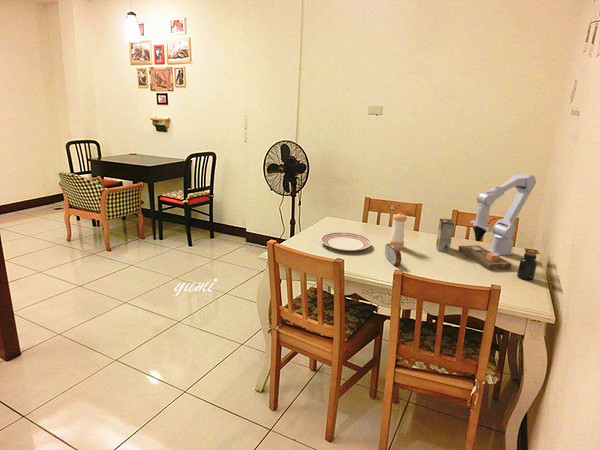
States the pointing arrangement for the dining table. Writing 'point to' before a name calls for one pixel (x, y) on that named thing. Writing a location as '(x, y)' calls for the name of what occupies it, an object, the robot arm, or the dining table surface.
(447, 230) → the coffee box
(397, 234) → the pepper shaker
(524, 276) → the supplement bottle
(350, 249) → the dinner plate
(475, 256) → the board
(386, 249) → the tin
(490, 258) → the terracotta key
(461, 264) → the dining table surface
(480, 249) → the steel key
